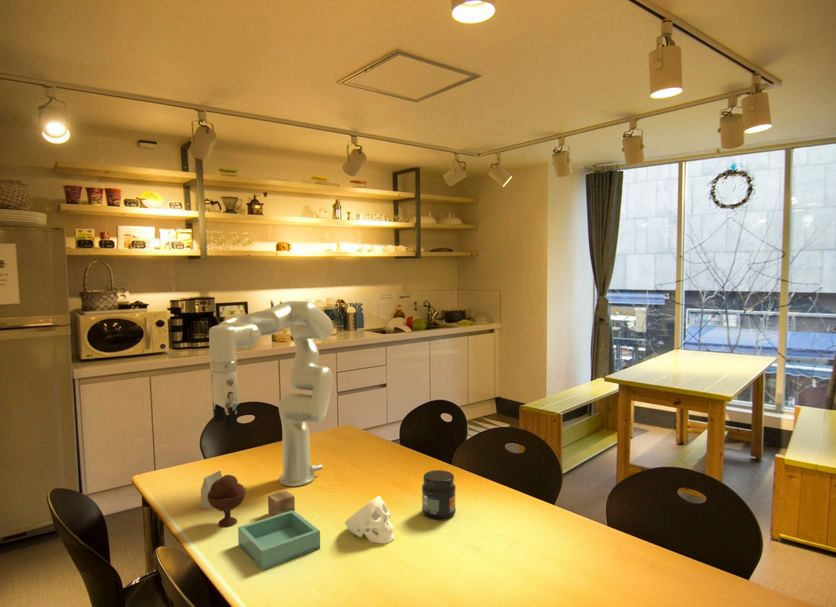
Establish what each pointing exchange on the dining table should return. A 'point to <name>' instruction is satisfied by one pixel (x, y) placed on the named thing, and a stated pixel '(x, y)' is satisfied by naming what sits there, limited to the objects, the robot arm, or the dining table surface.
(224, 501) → the ice cream bowl
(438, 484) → the supplement container
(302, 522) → the stoneware box
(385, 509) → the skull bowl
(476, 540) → the dining table surface
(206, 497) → the tea bag
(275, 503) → the walnut cube
